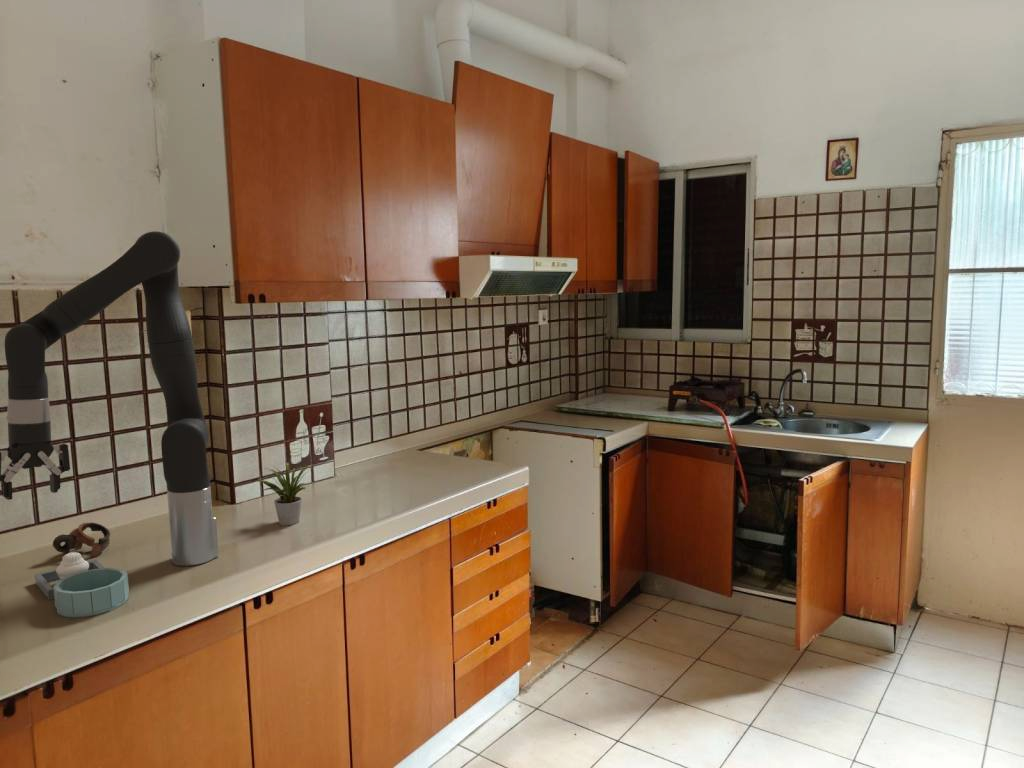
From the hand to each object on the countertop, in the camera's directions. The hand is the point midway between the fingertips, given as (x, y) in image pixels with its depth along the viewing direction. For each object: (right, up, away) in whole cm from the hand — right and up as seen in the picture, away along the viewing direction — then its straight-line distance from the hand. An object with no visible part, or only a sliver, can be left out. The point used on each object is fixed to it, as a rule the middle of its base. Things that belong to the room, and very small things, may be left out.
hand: (31, 495), depth 157 cm
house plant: (+42, -14, +45) cm, 63 cm away
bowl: (+17, -21, -7) cm, 28 cm away
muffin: (+7, -20, +4) cm, 21 cm away
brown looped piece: (-2, -18, +21) cm, 27 cm away
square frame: (+7, -20, +4) cm, 21 cm away
